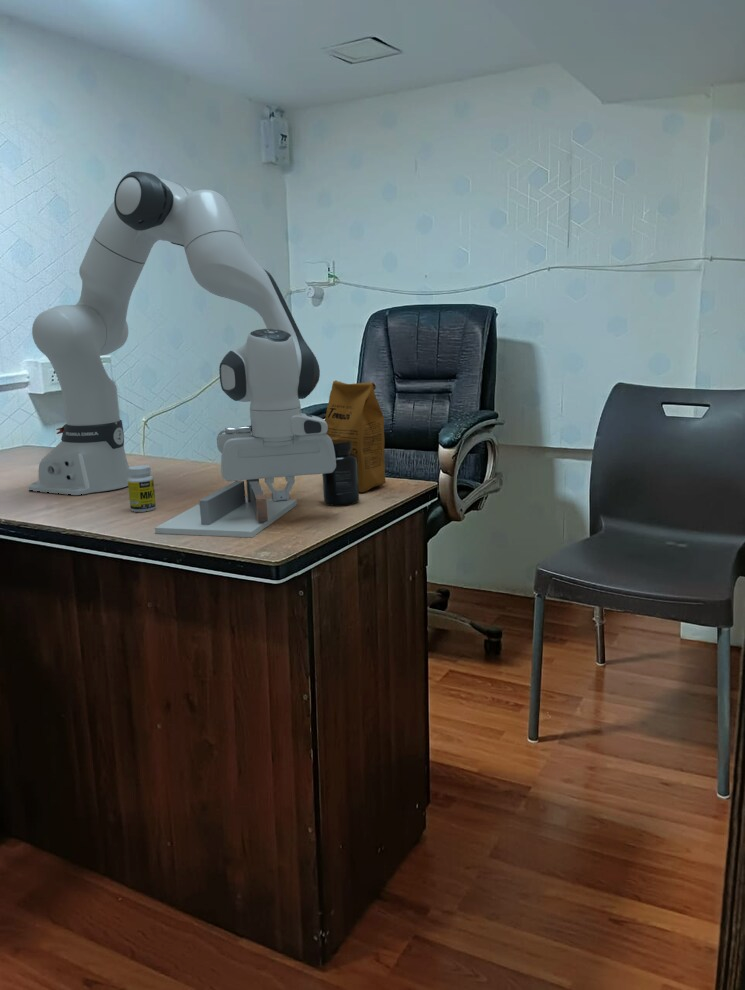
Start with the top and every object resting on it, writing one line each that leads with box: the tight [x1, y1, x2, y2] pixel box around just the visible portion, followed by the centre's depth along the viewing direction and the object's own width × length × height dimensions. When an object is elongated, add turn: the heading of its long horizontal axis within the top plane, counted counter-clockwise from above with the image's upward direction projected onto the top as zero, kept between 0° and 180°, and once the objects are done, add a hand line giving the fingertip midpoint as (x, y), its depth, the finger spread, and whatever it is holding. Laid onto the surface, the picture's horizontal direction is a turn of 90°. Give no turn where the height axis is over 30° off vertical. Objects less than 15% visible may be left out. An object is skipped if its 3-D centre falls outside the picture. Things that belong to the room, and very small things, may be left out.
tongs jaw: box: [249, 481, 268, 522], centre depth 145 cm, size 2×16×4 cm, turn 13°
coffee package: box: [324, 380, 386, 493], centre depth 165 cm, size 10×12×22 cm
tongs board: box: [154, 479, 298, 538], centre depth 146 cm, size 18×22×6 cm
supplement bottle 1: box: [127, 464, 157, 513], centre depth 154 cm, size 5×5×8 cm
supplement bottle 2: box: [321, 439, 360, 507], centre depth 154 cm, size 7×7×12 cm
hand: (280, 500), depth 143 cm, fingers closed
